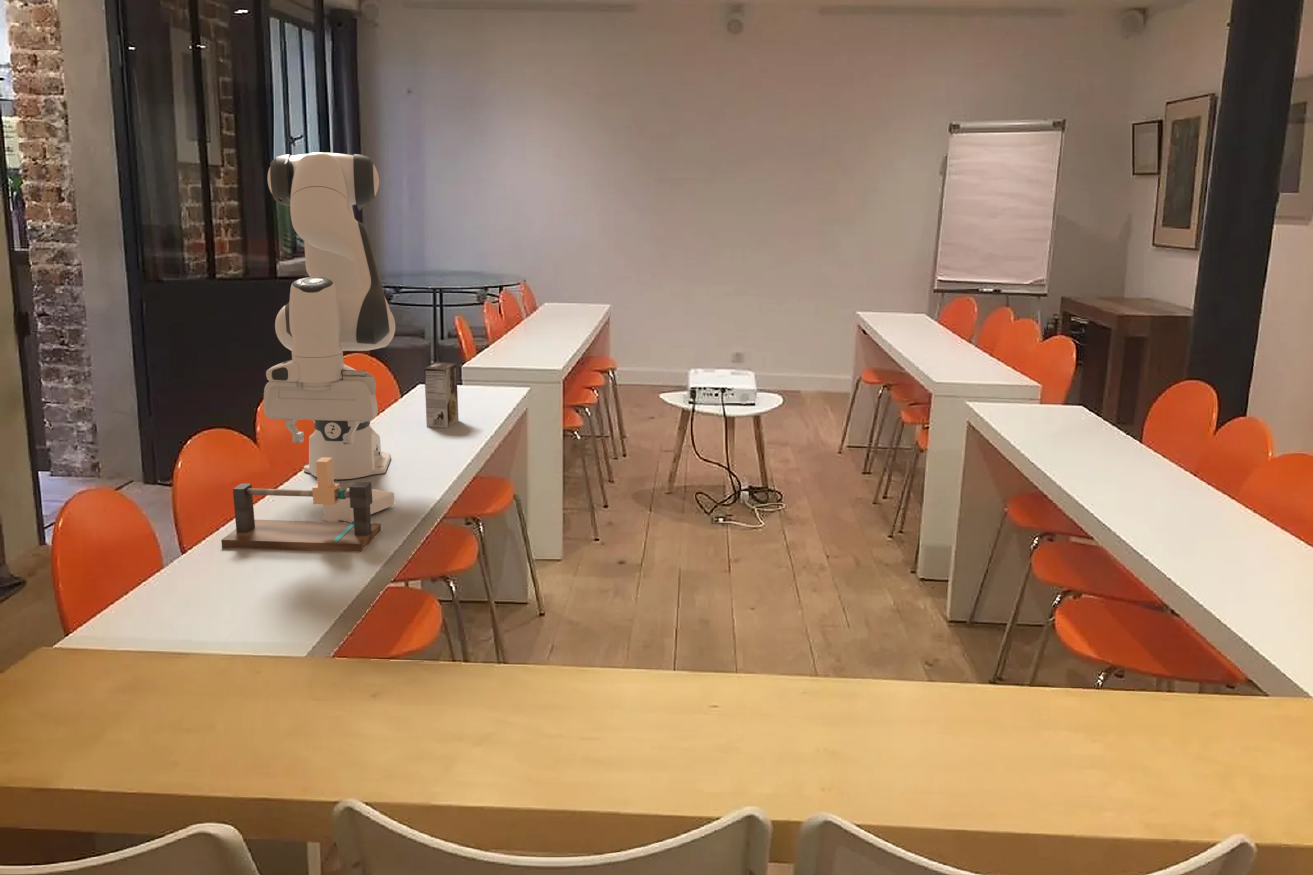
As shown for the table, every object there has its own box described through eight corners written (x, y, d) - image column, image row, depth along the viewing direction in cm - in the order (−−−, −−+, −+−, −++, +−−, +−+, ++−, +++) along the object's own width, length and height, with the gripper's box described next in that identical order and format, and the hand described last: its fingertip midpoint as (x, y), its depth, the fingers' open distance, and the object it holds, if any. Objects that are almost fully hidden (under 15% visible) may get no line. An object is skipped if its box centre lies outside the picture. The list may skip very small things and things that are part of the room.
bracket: (351, 526, 216) (349, 489, 214) (323, 521, 219) (321, 484, 217) (394, 509, 227) (393, 473, 225) (367, 504, 230) (365, 469, 228)
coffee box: (436, 419, 305) (434, 361, 301) (459, 420, 304) (457, 362, 300) (425, 427, 296) (423, 367, 293) (448, 428, 296) (446, 368, 292)
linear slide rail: (249, 526, 214) (245, 472, 211) (381, 530, 212) (378, 475, 210) (221, 547, 202) (216, 490, 200) (361, 551, 201) (357, 494, 198)
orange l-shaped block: (319, 499, 207) (316, 457, 205) (340, 499, 207) (337, 457, 205) (313, 504, 204) (310, 461, 202) (334, 504, 204) (331, 462, 202)
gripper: (380, 367, 202) (384, 440, 205) (271, 364, 203) (276, 436, 207) (369, 374, 196) (373, 449, 199) (257, 371, 197) (263, 445, 200)
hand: (323, 442), depth 203 cm, fingers open, 8 cm apart
